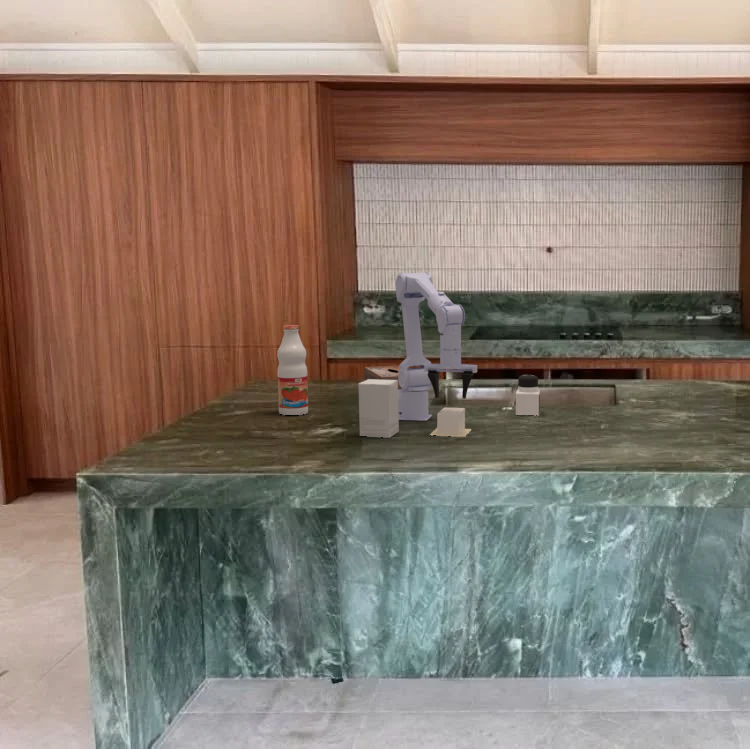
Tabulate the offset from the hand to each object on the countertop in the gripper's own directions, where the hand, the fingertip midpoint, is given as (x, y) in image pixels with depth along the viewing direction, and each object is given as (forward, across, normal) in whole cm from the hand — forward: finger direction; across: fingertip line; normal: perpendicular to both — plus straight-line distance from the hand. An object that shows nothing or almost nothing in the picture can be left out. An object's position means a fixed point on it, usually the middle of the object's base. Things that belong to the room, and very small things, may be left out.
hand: (450, 397), depth 236 cm
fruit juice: (+10, -54, +18) cm, 58 cm away
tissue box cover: (+10, -30, +51) cm, 60 cm away
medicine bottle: (+10, +18, +32) cm, 38 cm away
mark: (+10, 0, 0) cm, 10 cm away
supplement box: (+10, -19, -6) cm, 22 cm away
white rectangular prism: (+10, 0, +1) cm, 10 cm away
